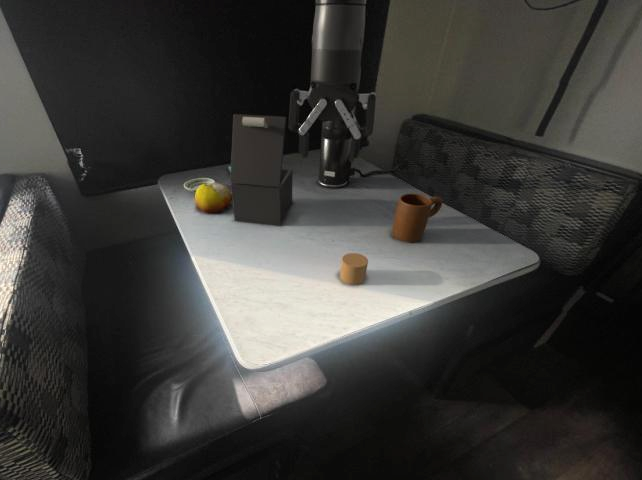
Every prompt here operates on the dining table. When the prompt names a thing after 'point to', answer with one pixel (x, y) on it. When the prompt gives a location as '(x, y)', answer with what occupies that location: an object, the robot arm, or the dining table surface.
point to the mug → (413, 216)
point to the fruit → (212, 198)
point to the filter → (353, 268)
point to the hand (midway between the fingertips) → (328, 158)
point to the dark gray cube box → (263, 201)
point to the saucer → (196, 183)
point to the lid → (257, 150)
